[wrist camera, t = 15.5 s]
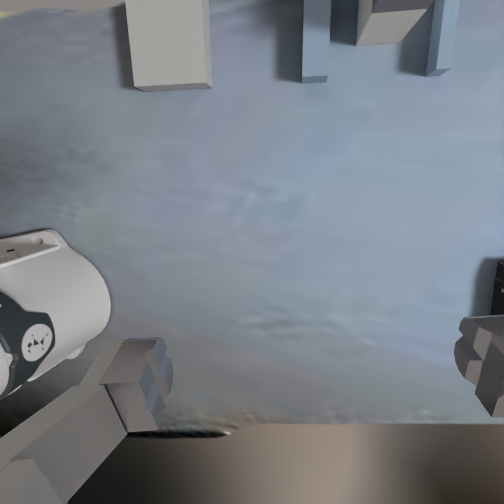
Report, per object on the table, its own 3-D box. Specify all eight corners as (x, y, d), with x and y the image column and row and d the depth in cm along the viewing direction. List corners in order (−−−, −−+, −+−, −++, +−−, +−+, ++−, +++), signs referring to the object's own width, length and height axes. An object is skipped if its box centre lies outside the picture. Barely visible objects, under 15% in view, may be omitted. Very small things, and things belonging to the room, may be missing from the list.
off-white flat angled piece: (145, 91, 35) (131, 85, 32) (133, -31, 32) (117, -51, 29) (326, 82, 32) (328, 73, 29) (331, -54, 29) (335, -78, 26)
